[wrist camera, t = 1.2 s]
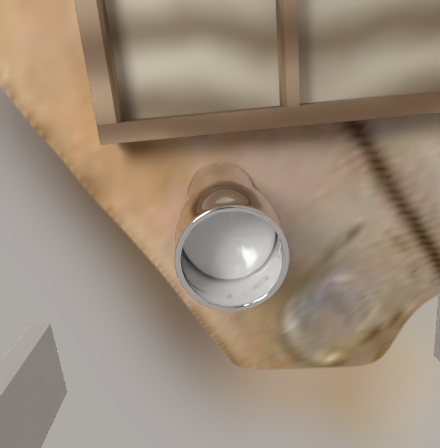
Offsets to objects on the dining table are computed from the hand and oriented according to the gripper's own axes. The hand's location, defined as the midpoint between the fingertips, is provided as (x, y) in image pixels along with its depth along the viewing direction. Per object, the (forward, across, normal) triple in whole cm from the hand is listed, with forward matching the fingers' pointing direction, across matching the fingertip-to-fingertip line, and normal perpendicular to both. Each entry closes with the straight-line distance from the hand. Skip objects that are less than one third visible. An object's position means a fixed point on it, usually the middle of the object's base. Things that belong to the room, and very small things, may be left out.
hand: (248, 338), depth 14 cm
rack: (+24, +6, +12) cm, 28 cm away
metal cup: (+24, 0, -1) cm, 25 cm away
